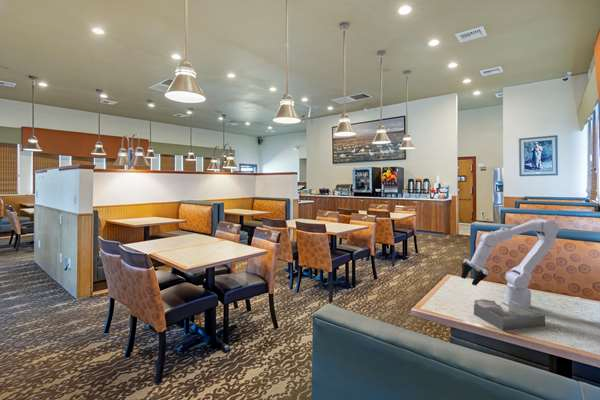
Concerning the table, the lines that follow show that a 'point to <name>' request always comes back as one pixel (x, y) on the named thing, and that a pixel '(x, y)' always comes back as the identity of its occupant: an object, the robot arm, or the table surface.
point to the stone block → (490, 306)
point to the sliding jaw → (520, 309)
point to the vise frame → (509, 319)
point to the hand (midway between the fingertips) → (468, 281)
